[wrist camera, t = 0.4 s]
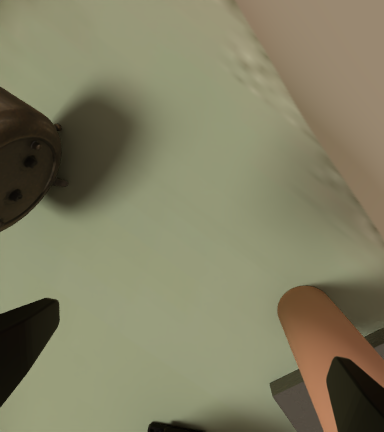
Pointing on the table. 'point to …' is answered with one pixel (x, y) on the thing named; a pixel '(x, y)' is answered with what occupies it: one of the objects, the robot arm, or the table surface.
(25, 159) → the alarm clock
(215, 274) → the table surface
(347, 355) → the orange tapered capsule
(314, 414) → the plate
